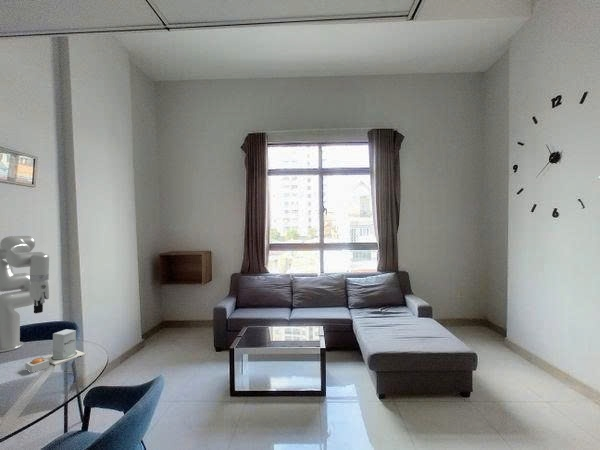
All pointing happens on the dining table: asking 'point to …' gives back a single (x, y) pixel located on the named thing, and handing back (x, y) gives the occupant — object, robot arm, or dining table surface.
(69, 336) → the supplement box
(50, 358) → the picture board
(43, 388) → the dining table surface
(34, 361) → the button
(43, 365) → the button housing
